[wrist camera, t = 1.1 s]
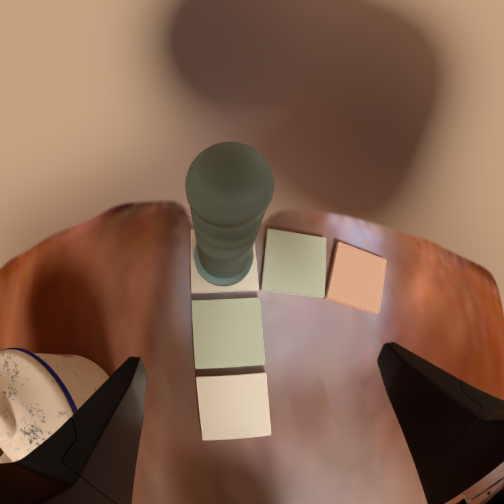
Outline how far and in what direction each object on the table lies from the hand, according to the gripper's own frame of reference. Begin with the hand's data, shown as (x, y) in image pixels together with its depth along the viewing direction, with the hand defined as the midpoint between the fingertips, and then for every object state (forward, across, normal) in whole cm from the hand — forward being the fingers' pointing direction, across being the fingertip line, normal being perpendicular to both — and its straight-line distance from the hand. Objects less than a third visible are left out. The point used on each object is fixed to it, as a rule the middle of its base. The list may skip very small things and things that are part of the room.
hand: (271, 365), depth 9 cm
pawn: (+15, +1, +3) cm, 15 cm away
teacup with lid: (+6, +15, +13) cm, 21 cm away
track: (+13, -2, +6) cm, 14 cm away
